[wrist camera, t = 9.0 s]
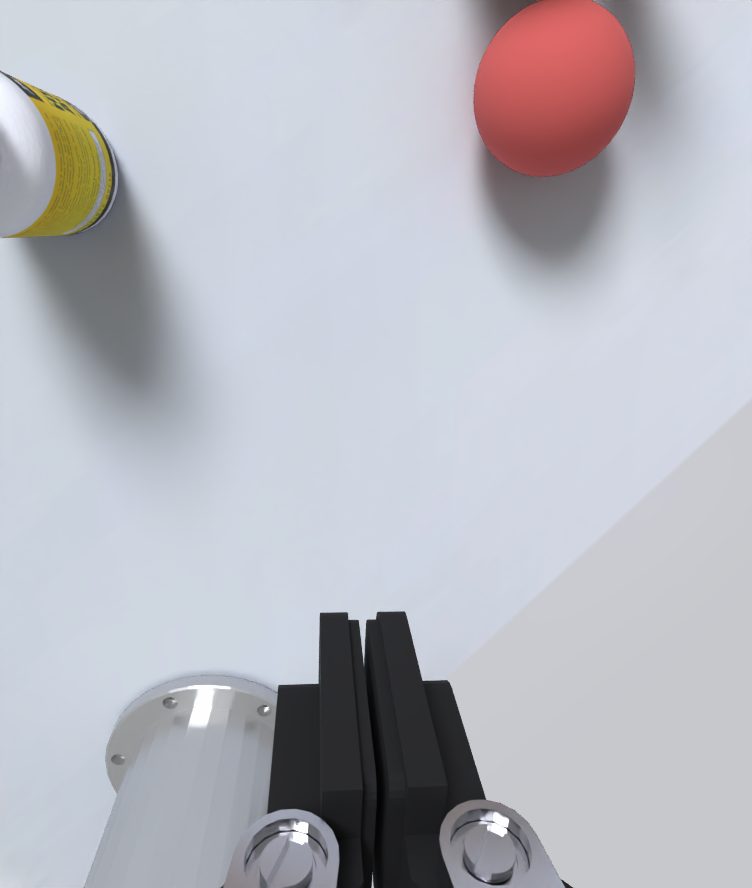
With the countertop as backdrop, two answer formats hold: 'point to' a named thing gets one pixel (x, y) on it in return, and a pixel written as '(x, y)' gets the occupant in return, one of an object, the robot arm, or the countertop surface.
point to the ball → (554, 86)
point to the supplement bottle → (50, 164)
